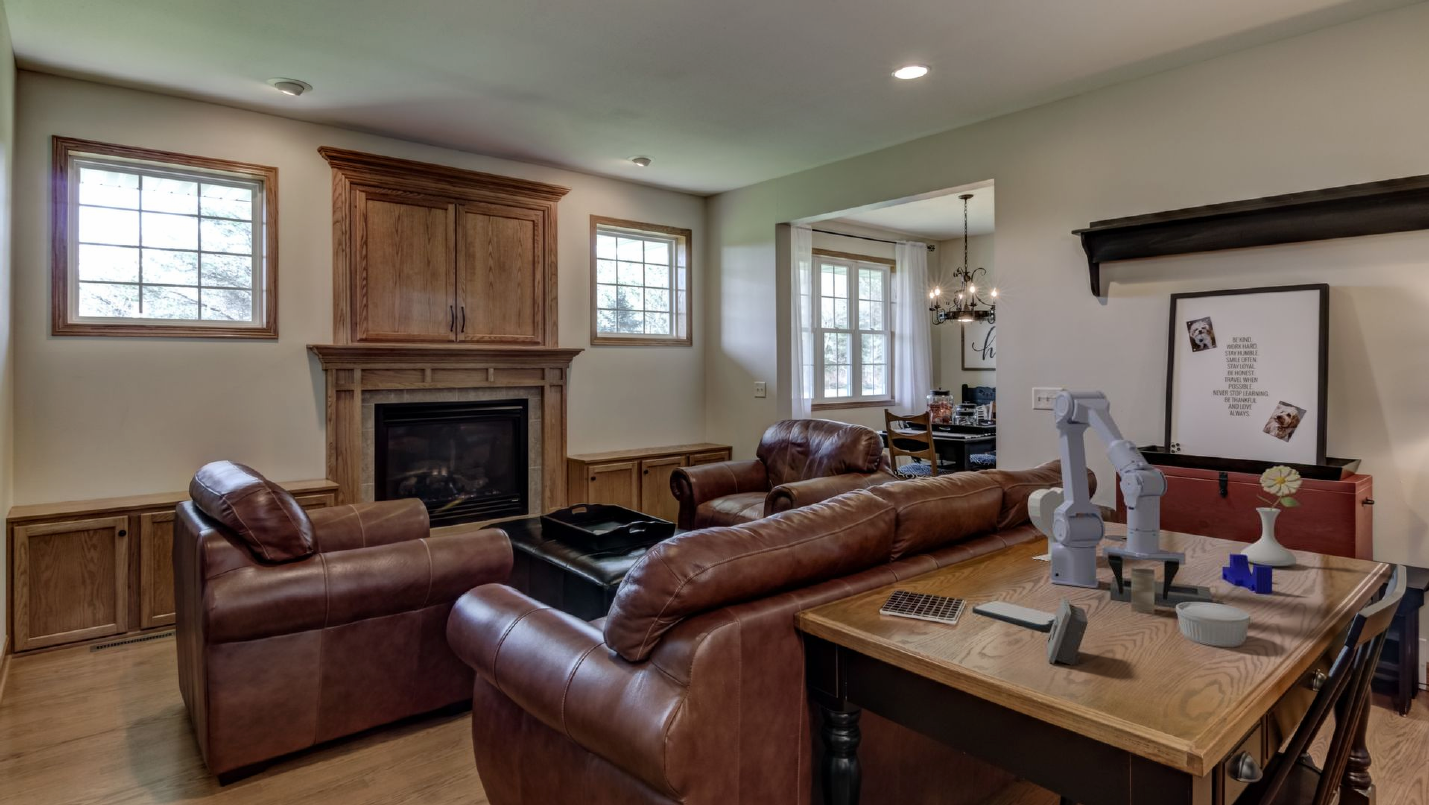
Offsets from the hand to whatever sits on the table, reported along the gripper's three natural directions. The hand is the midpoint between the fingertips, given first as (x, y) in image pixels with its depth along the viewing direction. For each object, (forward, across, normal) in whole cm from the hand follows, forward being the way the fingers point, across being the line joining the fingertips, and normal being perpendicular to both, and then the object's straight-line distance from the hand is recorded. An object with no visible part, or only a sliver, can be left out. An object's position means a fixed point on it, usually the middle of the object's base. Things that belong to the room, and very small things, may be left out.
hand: (1142, 595), depth 151 cm
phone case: (+4, -21, -17) cm, 27 cm away
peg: (+3, 0, 0) cm, 3 cm away
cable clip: (+3, +20, +30) cm, 36 cm away
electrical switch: (+3, -11, -35) cm, 37 cm away
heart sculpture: (+3, -21, +40) cm, 45 cm away
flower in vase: (+3, +27, +56) cm, 62 cm away
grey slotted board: (+3, +3, +10) cm, 11 cm away
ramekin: (+3, +11, -13) cm, 17 cm away
